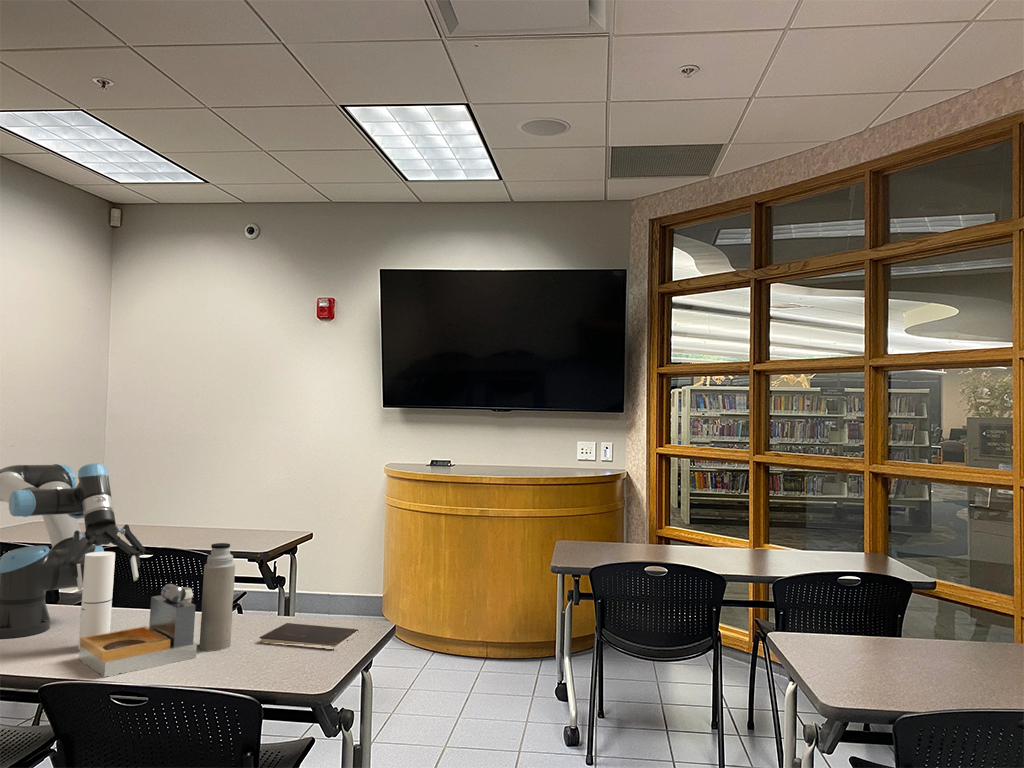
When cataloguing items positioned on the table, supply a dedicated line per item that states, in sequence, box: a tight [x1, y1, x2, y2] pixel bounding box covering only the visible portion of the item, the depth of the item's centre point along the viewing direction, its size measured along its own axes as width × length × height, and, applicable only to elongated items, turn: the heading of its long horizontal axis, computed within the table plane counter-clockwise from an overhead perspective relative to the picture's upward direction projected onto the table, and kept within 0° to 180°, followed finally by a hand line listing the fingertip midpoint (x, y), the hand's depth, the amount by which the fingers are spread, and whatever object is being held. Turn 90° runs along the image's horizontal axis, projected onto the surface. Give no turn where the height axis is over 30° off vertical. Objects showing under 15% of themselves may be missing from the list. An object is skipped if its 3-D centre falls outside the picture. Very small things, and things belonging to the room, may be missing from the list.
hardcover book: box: [258, 622, 359, 647], centre depth 206 cm, size 16×23×2 cm
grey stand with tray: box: [78, 583, 198, 678], centre depth 184 cm, size 18×22×18 cm
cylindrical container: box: [78, 551, 116, 651], centre depth 192 cm, size 7×7×25 cm
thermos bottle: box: [199, 542, 236, 651], centre depth 197 cm, size 8×8×28 cm
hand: (109, 583), depth 196 cm, fingers open, 13 cm apart
